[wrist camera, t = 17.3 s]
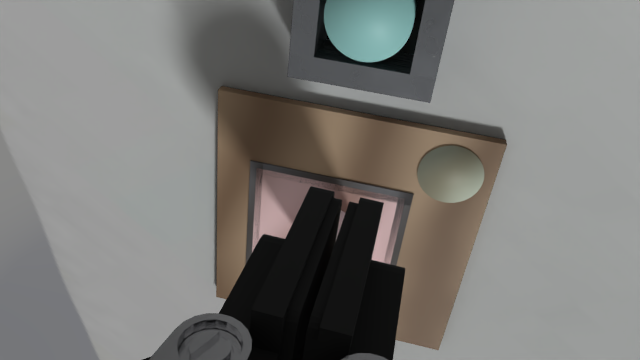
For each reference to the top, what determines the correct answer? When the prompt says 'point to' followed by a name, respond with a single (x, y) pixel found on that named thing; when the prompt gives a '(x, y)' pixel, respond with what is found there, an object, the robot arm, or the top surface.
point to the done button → (369, 27)
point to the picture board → (355, 191)
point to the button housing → (379, 77)
